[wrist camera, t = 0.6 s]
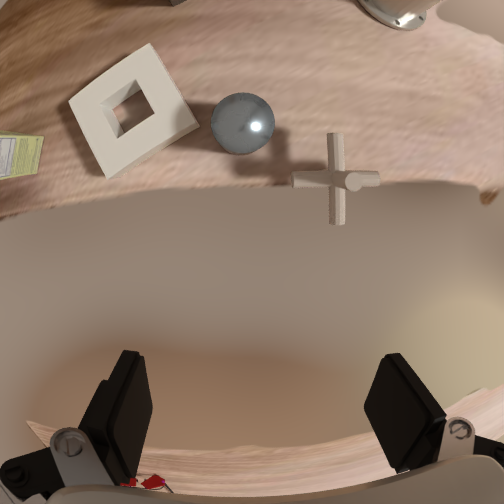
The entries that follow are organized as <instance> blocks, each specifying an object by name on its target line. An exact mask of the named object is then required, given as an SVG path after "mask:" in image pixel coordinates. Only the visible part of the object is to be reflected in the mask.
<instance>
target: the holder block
mask: <svg viewBox="0 0 504 504" xmlns="http://www.w3.org/2000/svg"><path fill="white" fill-rule="evenodd" d="M141 89H142V91H143V93H144V95H145V97H146V98H147V100H148V102H149V104H150V106H151V107H152V109H153V111H154V113H155V114H153V115H152V116H150V117H148V118H147V119H145V120H144V121H142V122H141V123H139V124H138V125H136V126H135V127H133V128H132V129H131V130H129V131H128V132H126V133H124V131H123V129H122V127H121V126H120V124H119V122H118V120H117V118H116V116H115V114H114V112H113V110H112V109H113V108H115V107H116V106H117V105H119V104H120V103H122V102H123V101H124V100H126V99H127V98H129V97H130V96H132V95H133V94H135V93H136V92H138V91H139V90H141ZM68 102H69V104H70V106H71V108H72V111H73V113H74V115H75V117H76V119H77V121H78V123H79V125H80V127H81V130H82V132H83V134H84V136H85V138H86V140H87V142H88V144H89V146H90V148H91V150H92V152H93V153H94V155H95V157H96V159H97V161H98V163H99V165H100V167H101V169H102V171H103V172H104V174H105V176H106V178H107V180H109V179H115V178H120V177H122V176H123V175H124V174H126V173H127V172H129V171H130V170H132V169H133V168H134V167H136V166H137V165H139V164H140V163H142V162H143V161H145V160H146V159H148V158H149V157H151V156H152V155H154V154H155V153H157V152H159V151H160V150H162V149H163V148H165V147H167V146H168V145H170V144H171V143H173V142H175V141H176V140H178V139H180V138H181V137H183V136H185V135H186V134H188V133H190V132H191V131H193V130H195V129H197V128H198V127H200V125H199V124H198V122H197V120H196V118H195V117H194V115H193V113H192V111H191V110H190V108H189V106H188V105H187V103H186V101H185V99H184V98H183V96H182V94H181V93H180V91H179V89H178V87H177V86H176V84H175V82H174V81H173V79H172V77H171V75H170V74H169V72H168V70H167V69H166V67H165V65H164V64H163V62H162V60H161V59H160V57H159V55H158V54H157V52H156V51H155V50H154V48H153V47H152V46H151V44H150V43H148V44H147V45H145V46H143V47H142V48H140V49H139V50H137V51H135V52H134V53H132V54H131V55H129V56H128V57H126V58H125V59H123V60H122V61H120V62H119V63H117V64H116V65H114V66H113V67H111V68H110V69H109V70H107V71H106V72H104V73H103V74H102V75H100V76H99V77H98V78H96V79H95V80H94V81H92V82H91V83H90V84H88V85H87V86H86V87H85V88H83V89H82V90H81V91H80V92H78V93H77V94H76V95H75V96H74V97H72V98H71V99H70V100H69V101H68Z"/></svg>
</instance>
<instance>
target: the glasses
mask: <svg viewBox="0 0 504 504" xmlns="http://www.w3.org/2000/svg"><path fill="white" fill-rule="evenodd" d="M136 481H137V482H138V480H136V478H131V479H130V483H129V484H124V483H121V485H120V486H122V485H124V487H129V486H130V487H131V486H136ZM141 484H142V485H143V486H144V487H145V488H140V489H150V490H159V489H152V488H156V487H160V486H163V487H164V485H165V486H166V487H167V488H168V489H169V490H170V491H171V493H173V491H172V490H171V489H170V488H169V487H168V486H167V484H166V483H165V480H164V479H163V478H161V477H159V476H157V475H153V476H152V477H150V478H149V479H147V480H146V479H145V480H144V482H142V483H141ZM163 487H162V488H163ZM131 488H137V487H131ZM162 488H160V489H162Z"/></svg>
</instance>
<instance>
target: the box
mask: <svg viewBox="0 0 504 504" xmlns="http://www.w3.org/2000/svg"><path fill="white" fill-rule="evenodd" d="M43 140H44V136H38V135H31V134H24V133H17V132H10V131H3V130H0V180H3V179H8V178H13V177H19V176H26V175H33V174H37V171H38V165H39V160H40V155H41V150H42V144H43Z"/></svg>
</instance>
